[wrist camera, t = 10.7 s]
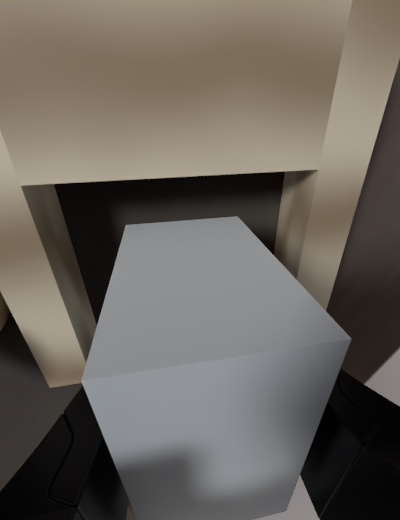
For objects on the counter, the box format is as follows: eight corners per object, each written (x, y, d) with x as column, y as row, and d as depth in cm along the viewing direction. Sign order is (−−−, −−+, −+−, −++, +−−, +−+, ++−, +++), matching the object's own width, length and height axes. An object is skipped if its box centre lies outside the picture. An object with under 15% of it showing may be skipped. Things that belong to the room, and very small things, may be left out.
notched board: (293, 316, 16) (315, 346, 14) (65, 347, 14) (49, 387, 12) (354, 29, 9) (416, -1, 7) (-69, 18, 7) (-163, -27, 5)
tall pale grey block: (230, 349, 12) (285, 511, 7) (150, 361, 12) (147, 545, 7) (237, 216, 9) (351, 338, 4) (125, 225, 8) (81, 381, 3)
